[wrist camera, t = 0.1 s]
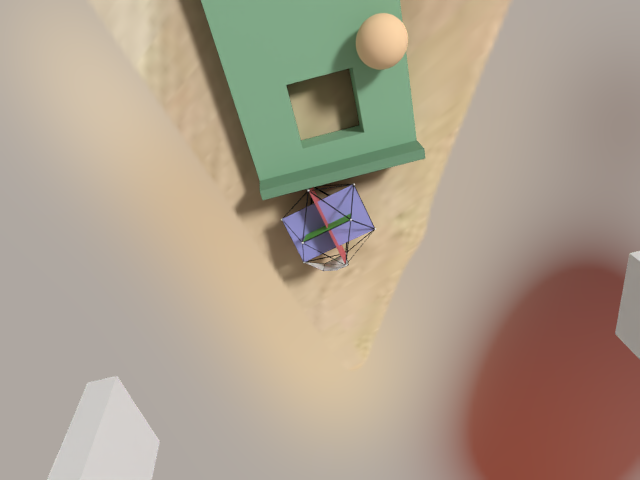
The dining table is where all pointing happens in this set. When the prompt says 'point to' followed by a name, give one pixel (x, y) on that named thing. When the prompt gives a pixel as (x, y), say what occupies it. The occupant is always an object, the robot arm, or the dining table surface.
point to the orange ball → (381, 41)
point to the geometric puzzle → (328, 226)
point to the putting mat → (305, 63)
